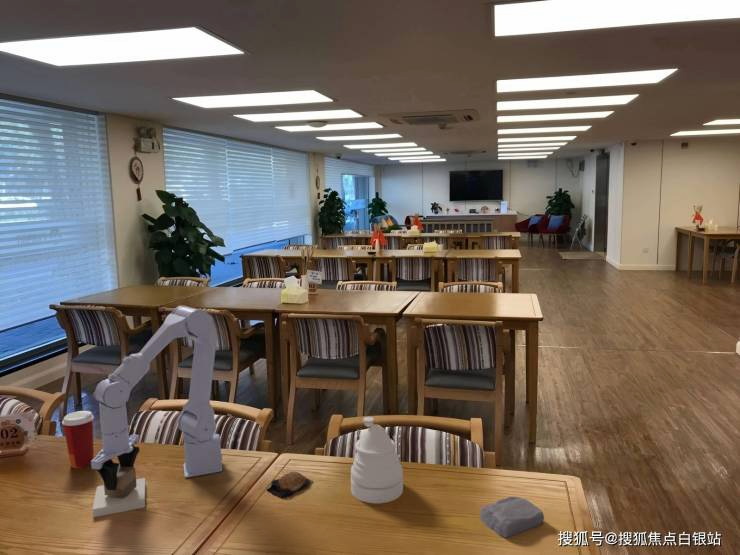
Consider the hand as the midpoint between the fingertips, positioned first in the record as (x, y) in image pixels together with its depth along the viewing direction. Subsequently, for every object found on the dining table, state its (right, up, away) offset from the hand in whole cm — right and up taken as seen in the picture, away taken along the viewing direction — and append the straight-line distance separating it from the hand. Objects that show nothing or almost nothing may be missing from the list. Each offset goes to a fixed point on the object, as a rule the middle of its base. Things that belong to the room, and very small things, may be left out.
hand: (119, 483), depth 134 cm
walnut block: (0, -2, 0) cm, 2 cm away
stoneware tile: (0, -4, +1) cm, 4 cm away
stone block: (+91, -5, -10) cm, 92 cm away
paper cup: (-19, -2, +20) cm, 28 cm away
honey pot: (+62, -3, +4) cm, 62 cm away
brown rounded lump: (+40, -4, +6) cm, 41 cm away
